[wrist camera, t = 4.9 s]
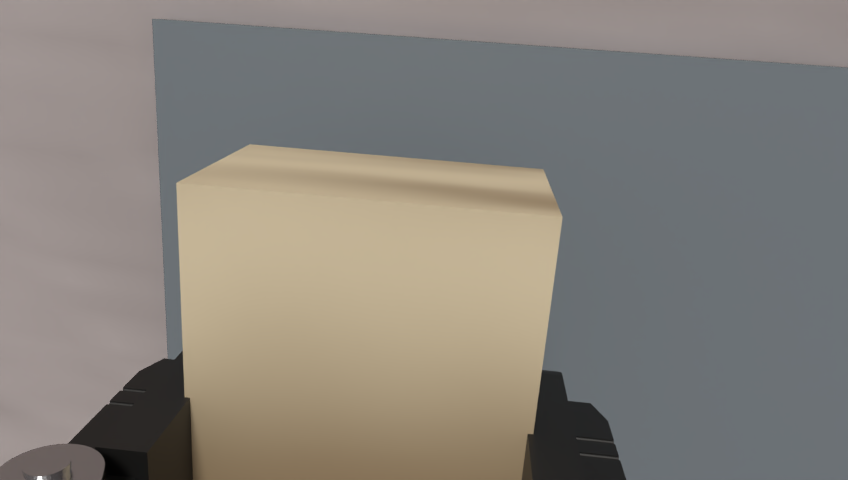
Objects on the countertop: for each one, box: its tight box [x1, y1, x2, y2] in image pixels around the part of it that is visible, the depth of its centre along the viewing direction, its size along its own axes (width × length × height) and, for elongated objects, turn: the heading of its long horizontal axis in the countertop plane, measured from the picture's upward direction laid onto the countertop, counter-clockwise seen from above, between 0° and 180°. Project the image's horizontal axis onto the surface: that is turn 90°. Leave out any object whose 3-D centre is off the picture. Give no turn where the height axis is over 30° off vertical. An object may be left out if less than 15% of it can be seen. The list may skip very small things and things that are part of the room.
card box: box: [176, 144, 563, 480], centre depth 12 cm, size 8×5×3 cm, turn 176°
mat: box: [152, 19, 848, 480], centre depth 15 cm, size 13×20×1 cm, turn 86°
